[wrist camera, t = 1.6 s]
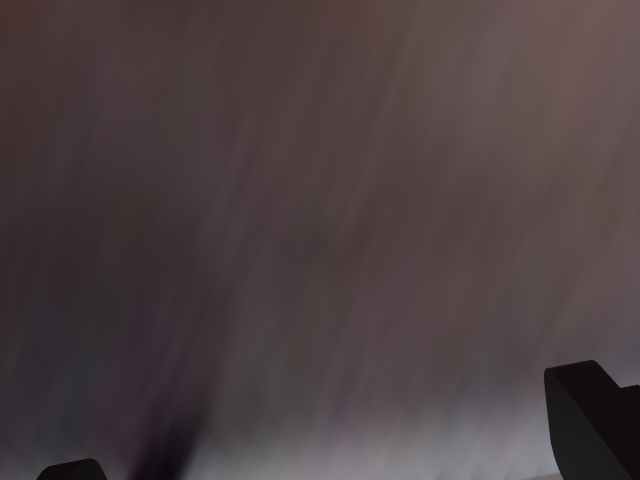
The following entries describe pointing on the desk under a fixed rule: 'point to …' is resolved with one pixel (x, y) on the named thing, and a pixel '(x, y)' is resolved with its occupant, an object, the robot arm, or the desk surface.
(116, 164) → the desk surface
